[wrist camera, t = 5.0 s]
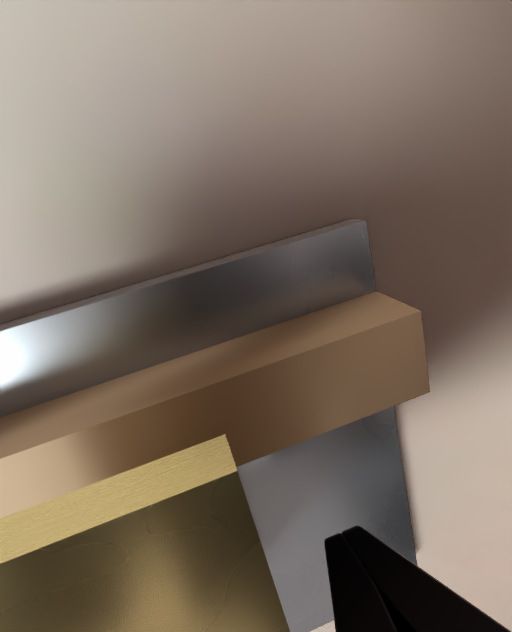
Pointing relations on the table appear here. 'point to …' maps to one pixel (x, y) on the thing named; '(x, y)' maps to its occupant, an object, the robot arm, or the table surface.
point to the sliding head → (142, 554)
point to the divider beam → (220, 399)
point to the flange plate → (218, 327)
